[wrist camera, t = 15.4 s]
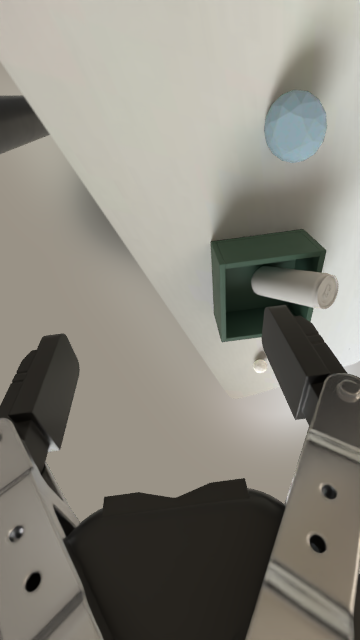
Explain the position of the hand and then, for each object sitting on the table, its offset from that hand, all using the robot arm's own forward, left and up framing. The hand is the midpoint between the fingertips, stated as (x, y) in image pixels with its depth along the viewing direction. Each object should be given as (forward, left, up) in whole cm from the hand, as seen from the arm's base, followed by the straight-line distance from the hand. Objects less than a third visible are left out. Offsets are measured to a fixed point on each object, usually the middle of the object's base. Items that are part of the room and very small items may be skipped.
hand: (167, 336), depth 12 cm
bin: (+14, -19, -34) cm, 41 cm away
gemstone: (+17, +3, -34) cm, 38 cm away
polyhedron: (+16, -41, -34) cm, 55 cm away
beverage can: (+14, -18, -32) cm, 39 cm away
